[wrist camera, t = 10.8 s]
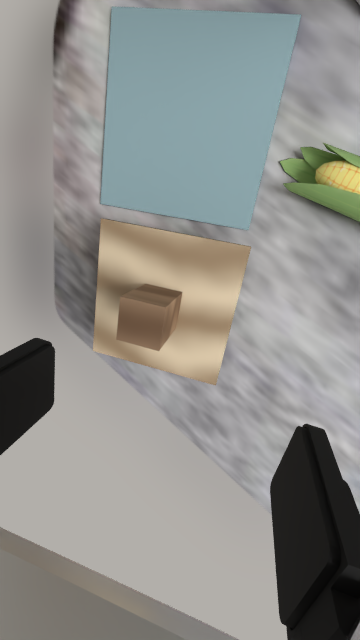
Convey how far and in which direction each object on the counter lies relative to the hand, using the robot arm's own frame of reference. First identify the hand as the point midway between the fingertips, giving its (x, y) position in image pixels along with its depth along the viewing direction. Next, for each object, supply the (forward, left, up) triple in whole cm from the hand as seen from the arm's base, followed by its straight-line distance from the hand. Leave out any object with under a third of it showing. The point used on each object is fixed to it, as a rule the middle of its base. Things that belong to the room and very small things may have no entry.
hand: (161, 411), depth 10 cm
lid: (+2, -5, -19) cm, 20 cm away
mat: (-16, -7, -24) cm, 30 cm away
